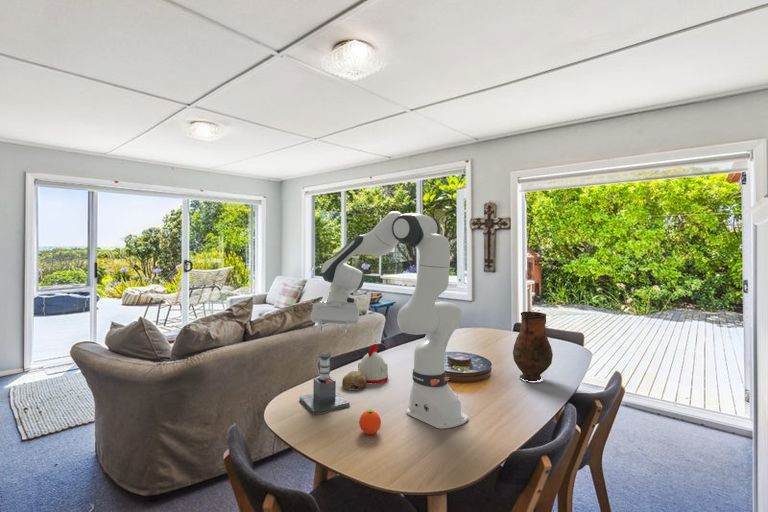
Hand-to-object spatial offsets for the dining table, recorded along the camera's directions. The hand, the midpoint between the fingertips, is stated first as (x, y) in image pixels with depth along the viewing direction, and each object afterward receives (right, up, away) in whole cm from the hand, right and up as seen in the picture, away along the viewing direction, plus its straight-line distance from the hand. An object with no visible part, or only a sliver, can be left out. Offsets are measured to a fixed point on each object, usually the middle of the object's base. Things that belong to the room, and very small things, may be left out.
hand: (332, 332), depth 154 cm
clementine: (+16, -26, -32) cm, 45 cm away
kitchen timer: (+16, -24, +16) cm, 33 cm away
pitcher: (+89, -25, +19) cm, 94 cm away
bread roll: (+8, -24, +6) cm, 26 cm away
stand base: (-1, -24, -12) cm, 27 cm away
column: (-1, -22, -12) cm, 25 cm away
